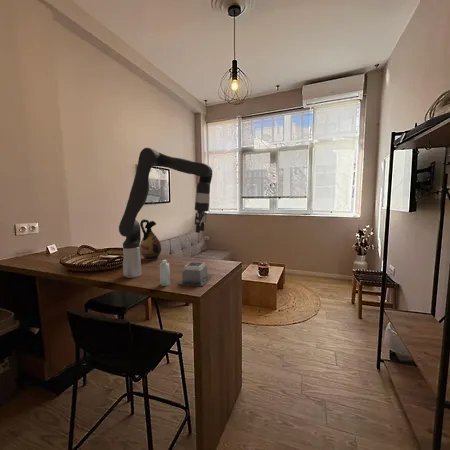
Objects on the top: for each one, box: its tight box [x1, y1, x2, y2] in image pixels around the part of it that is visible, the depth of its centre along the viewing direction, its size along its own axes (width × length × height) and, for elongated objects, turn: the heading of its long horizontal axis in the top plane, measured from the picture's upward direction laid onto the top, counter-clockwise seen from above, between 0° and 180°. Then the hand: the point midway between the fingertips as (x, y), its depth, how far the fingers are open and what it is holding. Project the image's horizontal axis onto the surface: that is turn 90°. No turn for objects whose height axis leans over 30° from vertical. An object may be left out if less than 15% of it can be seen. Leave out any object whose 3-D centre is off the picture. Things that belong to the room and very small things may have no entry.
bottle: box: [158, 259, 171, 287], centre depth 131 cm, size 5×5×13 cm
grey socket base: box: [177, 261, 213, 288], centre depth 136 cm, size 14×16×9 cm
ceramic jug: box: [139, 218, 162, 261], centre depth 183 cm, size 17×15×30 cm
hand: (199, 231), depth 135 cm, fingers open, 8 cm apart
